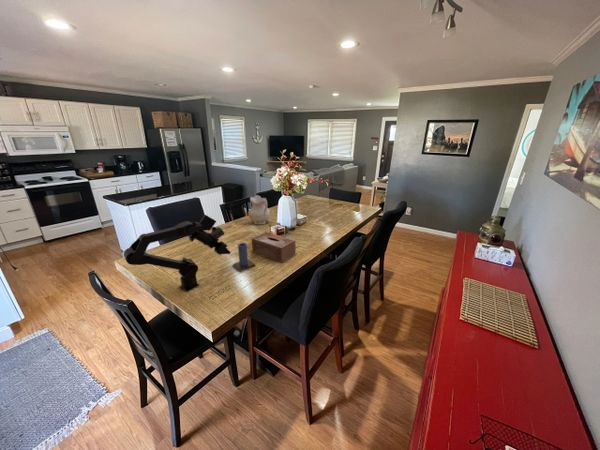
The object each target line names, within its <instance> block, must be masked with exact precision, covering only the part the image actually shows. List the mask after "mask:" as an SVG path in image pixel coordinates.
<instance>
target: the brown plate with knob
mask: <svg viewBox="0 0 600 450" xmlns="http://www.w3.org/2000/svg"><path fill="white" fill-rule="evenodd" d="M255 266H256V264H255V263H254V262H252V261H251V260H250V259H248V264H247V265H246V266H241V265H240V262H239V261H237V262H235V263H232V267H233V268H235V269H236V270H237V271H239V272H244V271H245V270H248V269H251V268H253V267H255Z"/></svg>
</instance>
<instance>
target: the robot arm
mask: <svg viewBox="0 0 600 450" xmlns="http://www.w3.org/2000/svg"><path fill="white" fill-rule="evenodd" d="M216 223H217V221H216V219H214V218H212V217H211V216H208V215H207V214H203V216H202V218H201V219H200V221H199V222H198V221H192V222H191V221H188V220H184V221H182V222H179V223H178V224H176V225H175V226H172V227H169V228H164V229H159V230H156V231H152V232H147V233H142V234H140V235H139V236H138V238H136V240H135V241H134V242H132V244H131V245H130V246H129V247H127V248H126V249H125V250H123V257H124V260H125V261H126V263H127V264H128V265H130V266H143V265H151V266H155V267H162V268H166V269H173V270H178V271H177V272H178V274H179V275H180V276H181V277H180V284H181V285H180V286H179V287H180V289H183V290H184V291H186V292H189V291H191V290H193V289H194V288H197V287H198V286H199V283H198V281H197V276H196V275H197V273H198V270H199V266H198V265H197V264H196V262H195V261H193V260H192V258H187V257H184V256H183V257H182V259H174V258H169V257H166V256H161V255H156V254H151V253H148V252H146V251H147V249H148V247H149V245H150V244H153V243H156V242H160V241H163V240H167V239H171V238H175V237H188V240H189V241H190V242H194V240H196V241H198V242H200V243H201V244H203V245H204V246H207V247H208V248H210V249H213V248H214V249H213V250H214V252H215V253H216V254H217V255H219V256H221V255H230V254H231V251H230V250H229V249H228V244H227V243H225V242H224V241H219V240H220V238H221V237H222V236H224V235H225V232H224V229H223V228H222V227H219V226H217V227H215V224H216ZM208 231H211V232H208Z"/></svg>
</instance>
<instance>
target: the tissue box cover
mask: <svg viewBox="0 0 600 450" xmlns="http://www.w3.org/2000/svg"><path fill="white" fill-rule="evenodd" d="M251 249H252V253H253V254H257V255H260V256H263V257H266V258H268V259H270V260H273V261H276V262H279V263H284V262H286V261H287V260H289V259H291V258H292V257H293V256H295V255H296V240H295V239H292V238H288V237H285V236H281V235H278V234H275V233H271V232H268V231H265V232H263V233H261V234H258V235H256V236H254V237H252V238H251Z"/></svg>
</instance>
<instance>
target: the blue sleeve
mask: <svg viewBox="0 0 600 450" xmlns="http://www.w3.org/2000/svg"><path fill="white" fill-rule="evenodd" d="M237 251H238V258H239V259H238V260H239V261H238V262H240V265H241V266H246V265H247V264H248V260H249V257H248V246H247V243H246V242H241V243H238V244H237Z"/></svg>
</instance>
